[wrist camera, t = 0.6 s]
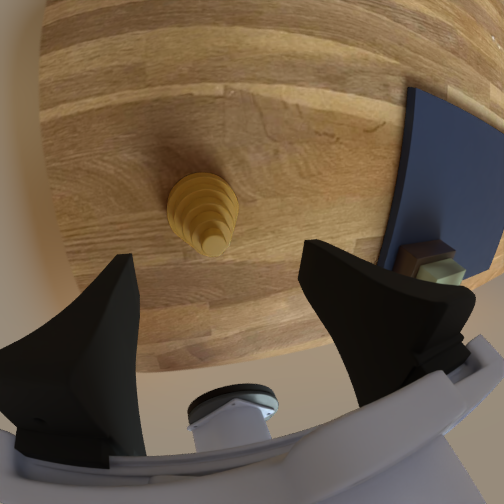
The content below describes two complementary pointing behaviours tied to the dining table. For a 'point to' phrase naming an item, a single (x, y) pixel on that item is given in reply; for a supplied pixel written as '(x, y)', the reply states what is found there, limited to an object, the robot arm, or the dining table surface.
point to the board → (447, 184)
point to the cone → (203, 212)
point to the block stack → (429, 262)
